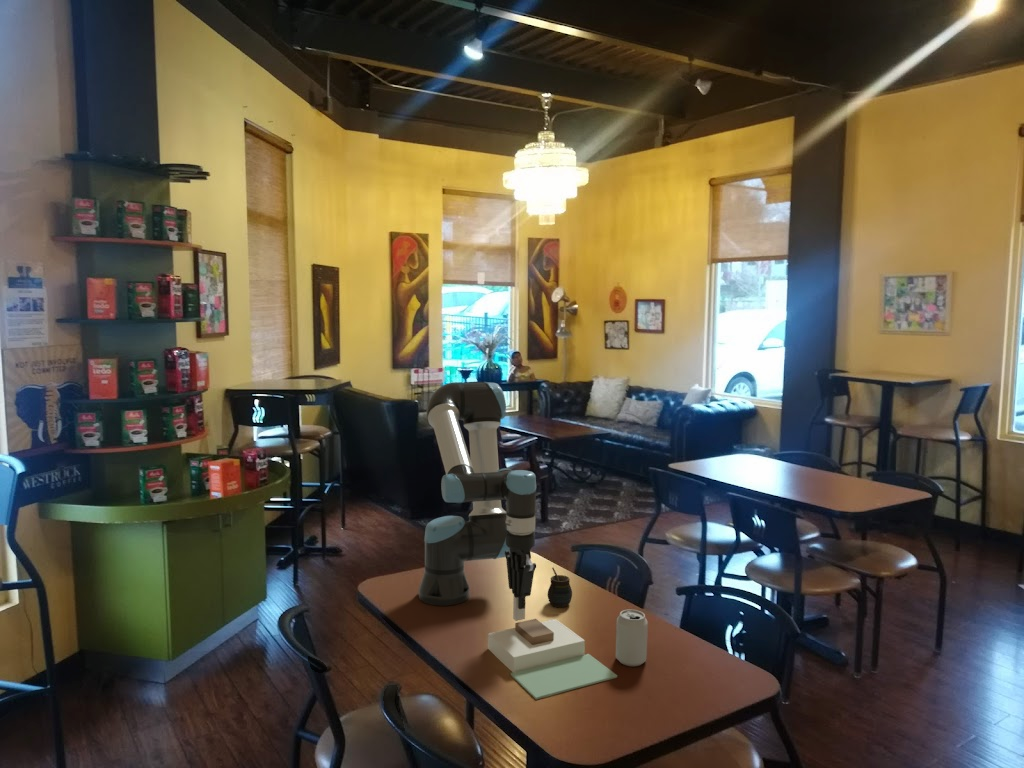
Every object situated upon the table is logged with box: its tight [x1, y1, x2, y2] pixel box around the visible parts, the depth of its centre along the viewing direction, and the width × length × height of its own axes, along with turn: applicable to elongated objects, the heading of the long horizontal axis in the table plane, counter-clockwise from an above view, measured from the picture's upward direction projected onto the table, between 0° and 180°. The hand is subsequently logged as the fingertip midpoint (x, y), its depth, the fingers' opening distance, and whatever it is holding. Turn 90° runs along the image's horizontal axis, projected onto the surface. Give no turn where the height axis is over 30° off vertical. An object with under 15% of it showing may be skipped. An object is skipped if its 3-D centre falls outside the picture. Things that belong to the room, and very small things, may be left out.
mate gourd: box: [547, 567, 573, 608], centre depth 211 cm, size 7×8×10 cm
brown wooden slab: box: [514, 618, 554, 645], centre depth 181 cm, size 9×6×2 cm, turn 28°
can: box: [615, 608, 649, 667], centre depth 177 cm, size 8×8×12 cm
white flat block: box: [487, 618, 586, 673], centre depth 181 cm, size 14×20×4 cm
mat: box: [510, 653, 618, 701], centre depth 169 cm, size 12×22×1 cm, turn 118°
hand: (519, 618), depth 188 cm, fingers closed
